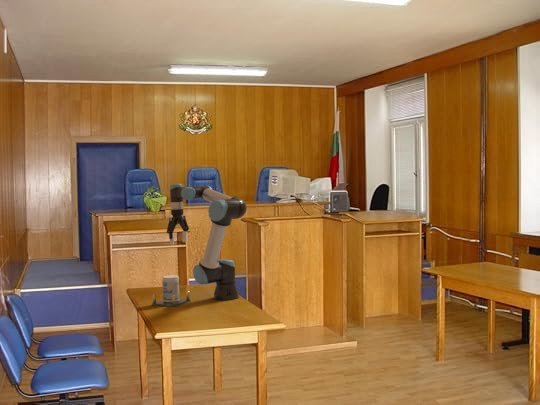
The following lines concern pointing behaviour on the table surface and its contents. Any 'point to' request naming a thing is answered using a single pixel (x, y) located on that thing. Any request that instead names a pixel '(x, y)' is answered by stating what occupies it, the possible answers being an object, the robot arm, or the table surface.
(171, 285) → the supplement tub
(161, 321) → the table surface
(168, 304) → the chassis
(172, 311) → the table surface
